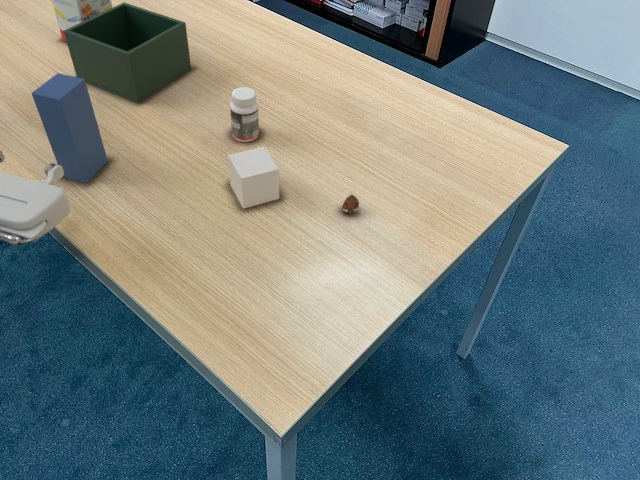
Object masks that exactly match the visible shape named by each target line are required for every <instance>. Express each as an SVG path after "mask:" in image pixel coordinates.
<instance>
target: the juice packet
mask: <svg viewBox="0 0 640 480" xmlns="http://www.w3.org/2000/svg"><path fill="white" fill-rule="evenodd" d="M31 96H32V98H33V102H34V105H35V107H36V110H37V113H38V115H39V117H40V120H41V123H42V126H43V128H44V132H45V134H46V136H47V140H48V142H49V146H50V148H51V151H52V153H53V156H54V159H55V162H56V164H57V165H61V166H62V168H63V171H64V175H63V176H62V177H61V178H65V179H69V180H72V181H76V182H81V183H85V184H88V183H89V182H90V181H91V180H92V179H93V178H94V177H95V175H97V174H98V172H100V170H101V169H102V168H103V167H104V166H105V165H106V164H107V163H108V162H109V160H108V157H107V153H106V149H105V146H104V142H103V138H102V136H101V132H100V131H101V130H100V128H99V125H98V121H97V118H96V113H95V111H94V108H93V107H94V106H93V103H92V100H91V96H90V93H89V89H88V86H87V83H86V82H85V79H82V78H77V76H72V75H68V74H65V73H64V74H63V73H59V72H58V73H56V74H55V75H53V76H52V77H50V78H49V79H48V80H47V81H45V82H44V83H43V84H41V85H40V86H39V87H37V88H36V89H34V91H32V92H31Z"/></svg>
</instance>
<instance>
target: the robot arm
mask: <svg viewBox="0 0 640 480" xmlns="http://www.w3.org/2000/svg"><path fill="white" fill-rule="evenodd" d="M5 159H6V156H5V155H4V152H3V150H0V164H1V163H3V162H4V161H5ZM43 172H44V174H45V177H46V178H41V179H40V180H39V181H37V180H34V179H31V178H26V177H23V176H18V175H14V174H11V173H8V172H3V171H0V241H3V242H6V243H8V244H11V245H13V246H14V245H15V246H21V245H22V244H28V243H35V242H36V241H38V240H39V239H40V238H42V237H44V236H45V235H46V234H48V233H49V232H50V231H52V230H53V229H54V228H56V227H57V226H58V225H59V224H60V223H61V222H62V221H64V220H65V219H66V218H67V217H68V216H69V214H70V213H71V203H70V199H69V196H68V195H67V193H66V190H65V189H64V188H63V187H61V186H58V182H59V181H60V180H61V179H62V178H63V177H62V176H63V175H64V171H63V168H62V166H61V165H58V164H57V163H52V162H50V163H49V164H48V165H47V166H45V167H44V169H43Z"/></svg>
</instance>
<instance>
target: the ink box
mask: <svg viewBox="0 0 640 480" xmlns="http://www.w3.org/2000/svg"><path fill="white" fill-rule="evenodd" d="M51 3H52V7H53V12H54V14H55V18H56V22H57V25H58V28H59V32H60V35H61V38H62V40H63V41H64V42H66V38H65V35H64V32H63V31H64V30H66V29H68V28H71V27H73V26H75V25H77V24H79V23H81V22H83V21H85V20H88V19H90V18H92V17H94V16H96V15H98V14H100V13H102V12H105V11H107V10H109V9H111V8H113V3H112V0H51Z"/></svg>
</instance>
